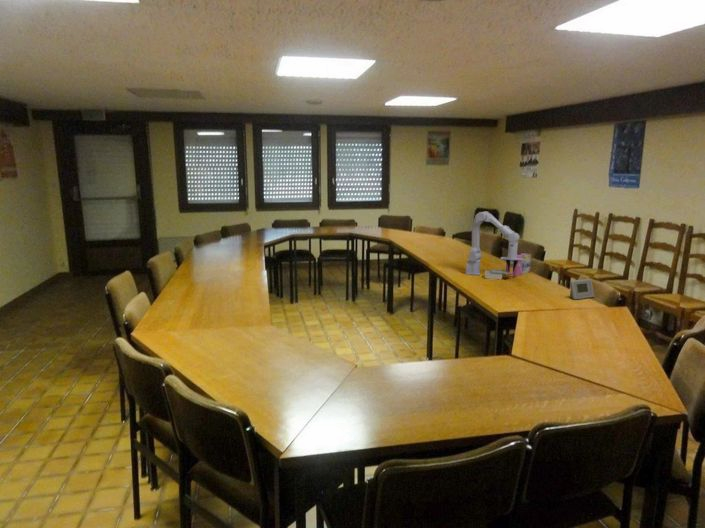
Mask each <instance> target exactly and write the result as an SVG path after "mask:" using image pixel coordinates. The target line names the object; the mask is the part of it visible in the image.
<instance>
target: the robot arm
mask: <svg viewBox="0 0 705 528" xmlns="http://www.w3.org/2000/svg"><path fill="white" fill-rule="evenodd" d="M484 222H485V223H491V224H492V225H494V227H496V228H497V229H498V230H499V232H500V234H502V235H503V236H504V237H506V238H507V240H508V247H507V248H508V249H507V256H508V257H507V256H501V257H500V261H505V262H506V263H507V265H508V272H510V261H514V262H513V272H514V269H515V267H516V265H517V263H518V261H522V262H524V258H517V253H518V248H519V245H518V244H519V240H520V234H519V233H518V232H515V231H514V230H512V229H511V228H510V226H509V225H503V224H502V222H500V221H499V220H498V219H497V218H496V217H495V216H494V215H493V214H492V213H490V211H479V212H478V213H476V214H475V216H474V218H473V220H472V222H471V248H470V251H469V254H468V260H466V265H465V275H473V276H480V275H481V272H480V268H481V259H482V258H483V254H482V251H481V248H480V235H481V232H480V231H481V228H480V227H481V224H483V223H484Z"/></svg>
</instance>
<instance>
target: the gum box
mask: <svg viewBox="0 0 705 528" xmlns="http://www.w3.org/2000/svg"><path fill="white" fill-rule="evenodd" d="M506 257H508V255H506ZM517 258H524V262H522V261H518V263H517V265H516V267H515V269H514V272H513V274H507V275H506V276H508V275H513V276H512V277H514V276H516V277H518V276H517V275H519V276H522V275H521V274H523V275H525V274H524V273H526V274H528V272H529V273H531V264H532V253H529V254H528V253H524V252H521V251H520V252H517ZM513 262H514V261H510V267H513ZM505 271H508V265H507V263H506V265H505Z"/></svg>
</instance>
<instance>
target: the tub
mask: <svg viewBox="0 0 705 528" xmlns="http://www.w3.org/2000/svg"><path fill="white" fill-rule="evenodd" d="M485 278H490V279H489V280H495V279H502V280H503V274H498V273H491V270H485V272H484V279H485Z"/></svg>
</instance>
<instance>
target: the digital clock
mask: <svg viewBox="0 0 705 528" xmlns="http://www.w3.org/2000/svg"><path fill="white" fill-rule="evenodd" d="M592 281H593V280H592V279H591V278H581V279H575V280H570V281H569V287H570V292H569V297H570V298H572V299H573V300H585V299H591V298H594V297H595V293H594V292H595V291H594V288H593V282H592Z"/></svg>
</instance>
